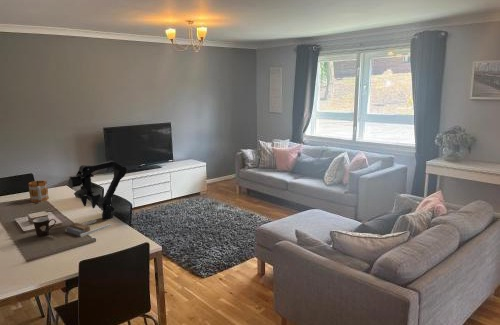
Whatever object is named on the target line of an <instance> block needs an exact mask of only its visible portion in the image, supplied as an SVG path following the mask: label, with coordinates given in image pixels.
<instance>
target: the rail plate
mask: <svg viewBox="0 0 500 325" xmlns="http://www.w3.org/2000/svg"><path fill="white" fill-rule="evenodd" d="M94 223H97V219H93V220H90V221H87V222H84V223H82V224H83V225H86V226H89V225H92V224H94ZM110 227H112V224H111V223H109V224H108V223H107V224H105V225H103V226H100V227H97V228H94V229H90V231H88V232H85V233H84V230H81V229H78V228H74V227H71V225H70V226H67V227H65V232H66V233H69V234H71V235H74V236H77V237H81V238H82V237H85V236H88V235H90V234H93V233H96V232H98V231H102V230H104V229H107V228H110Z"/></svg>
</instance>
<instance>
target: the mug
mask: <svg viewBox="0 0 500 325" xmlns="http://www.w3.org/2000/svg"><path fill="white" fill-rule="evenodd" d="M47 182H48V181H47V180H44V179H43V180H42V179H41V180H35V181H33V180H32V181H30V182H28V184H27V186H28V192H29V198H30V200H29V202H31V203H42V202H45V201H46V202H47V201H48V200H49V198H50V197H49V190H48V184H47ZM41 201H42V202H41Z"/></svg>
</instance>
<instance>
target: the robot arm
mask: <svg viewBox="0 0 500 325" xmlns="http://www.w3.org/2000/svg"><path fill="white" fill-rule="evenodd" d="M109 168H111V169H112V170H113V178H112V180H111V182H110V184H109V186H108V188H107V190H106V192H105V195H104V196H103V197H102V196H101V194H100V192H95V191H93V187H94V185H93V184H92V178H93V177H95V175H94V174H93V173H95V172H96V171H101V170H104V169H109ZM127 173H128V169H127V168H126V166H122V165H120V164H119V163H117V162H116V161H114V160H108V161H104V162H100V163H94V164H82V165H80V166H79V168H78V171H77V173H76V175H74V176H69V179H68V186H69V187H70V188H76V187H80V189H78V190H76V191H75V192H74V193H73V195H74V196H75V198H76V199H80V201H81V203H82V205H83V207H87V202H88V199H89V201H90V202H91V207H92V209H94V208H96V205H97V207H98V208H99V209H100V210H101V211H102V214H101V217H102V218H101V219H102V221H103V220H104V221H105V220H111V219H114V211H115V207H113V206H112V201H113V200H112V199H113V196H114V194H115V193H116V192H115V191H116V190H117V189H118V185H119V183H120V182H121V180H122V179H123V178H125V176H126V175H127Z"/></svg>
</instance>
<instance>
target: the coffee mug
mask: <svg viewBox="0 0 500 325" xmlns="http://www.w3.org/2000/svg"><path fill="white" fill-rule="evenodd" d="M51 221H54V223H53V225H51V226H50V222H51ZM32 223H33V225H34V226H33V227H34V230H35V233H36V236H37V238H43V237H47V236H49V233H50V232H49V231H50V230H51V229H52V228H53V227H54V226H55V224H56V223H57V221H56V219H53V218H52V219H50V218H49V217H48V216H47V217H44V216H43V217H37V218H35V219H33V220H32Z"/></svg>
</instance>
